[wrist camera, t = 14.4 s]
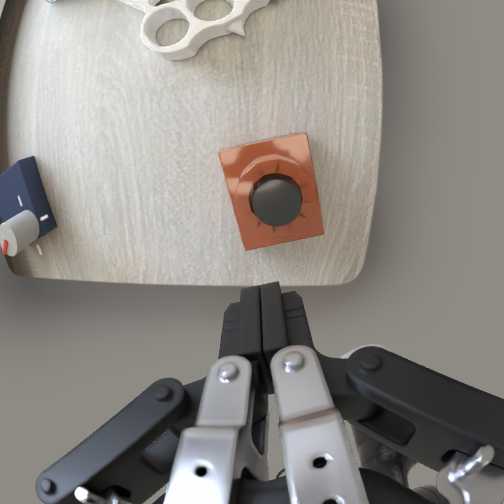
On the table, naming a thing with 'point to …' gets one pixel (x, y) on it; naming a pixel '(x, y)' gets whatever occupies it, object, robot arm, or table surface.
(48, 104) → the table surface
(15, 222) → the dial
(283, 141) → the button base
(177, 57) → the white brass knuckles
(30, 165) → the dial panel
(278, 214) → the dark grey short cylinder
